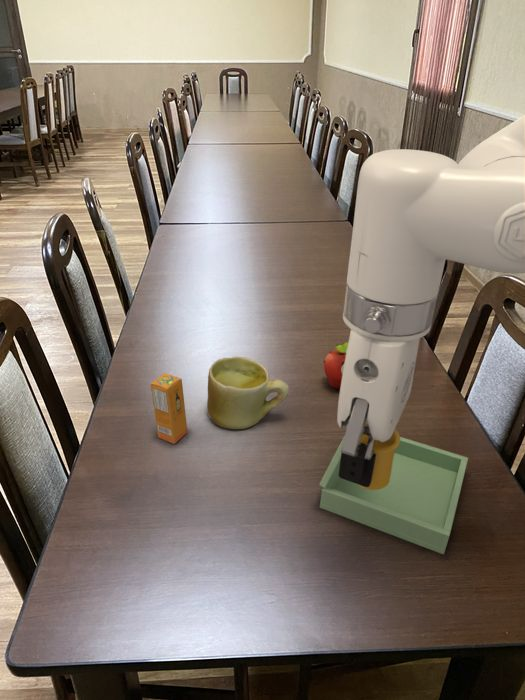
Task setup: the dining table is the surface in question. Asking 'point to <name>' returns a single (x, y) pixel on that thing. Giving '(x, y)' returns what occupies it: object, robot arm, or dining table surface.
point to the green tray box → (405, 496)
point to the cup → (382, 460)
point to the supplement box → (169, 407)
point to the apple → (335, 365)
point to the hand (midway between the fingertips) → (362, 462)
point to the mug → (241, 392)
